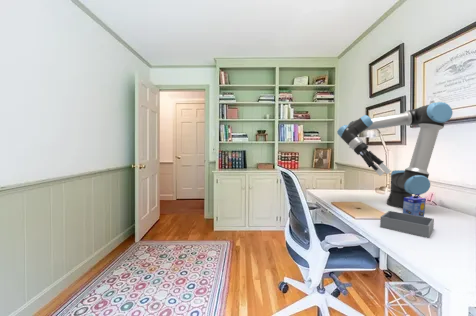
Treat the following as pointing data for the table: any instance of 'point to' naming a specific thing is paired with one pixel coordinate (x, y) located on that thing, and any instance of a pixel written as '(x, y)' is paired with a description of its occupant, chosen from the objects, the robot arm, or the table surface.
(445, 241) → the table surface
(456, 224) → the table surface
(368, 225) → the table surface
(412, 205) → the ink cartridge box
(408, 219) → the box
